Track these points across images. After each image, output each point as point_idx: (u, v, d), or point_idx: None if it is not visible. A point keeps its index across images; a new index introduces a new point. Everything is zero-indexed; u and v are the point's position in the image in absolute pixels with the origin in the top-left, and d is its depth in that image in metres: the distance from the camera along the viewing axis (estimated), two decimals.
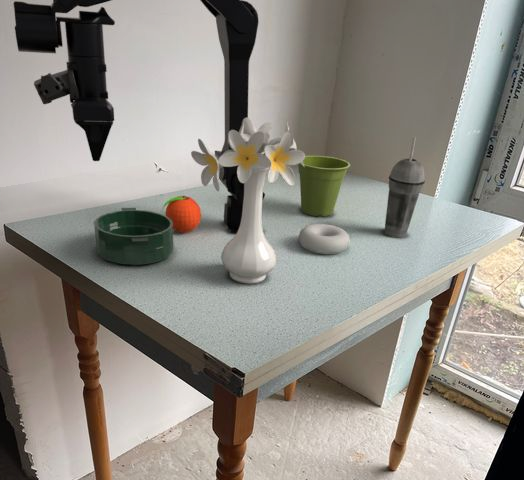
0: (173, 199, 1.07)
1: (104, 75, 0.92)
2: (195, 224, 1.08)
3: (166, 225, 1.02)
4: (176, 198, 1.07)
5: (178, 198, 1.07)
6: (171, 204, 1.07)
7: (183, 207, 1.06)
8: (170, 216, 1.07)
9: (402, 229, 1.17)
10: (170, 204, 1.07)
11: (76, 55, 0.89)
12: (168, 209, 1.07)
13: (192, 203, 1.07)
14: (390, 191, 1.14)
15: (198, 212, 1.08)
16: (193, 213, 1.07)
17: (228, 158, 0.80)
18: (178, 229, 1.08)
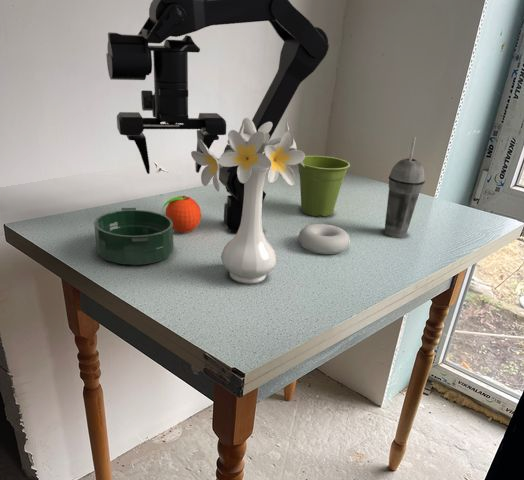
0: (173, 199, 1.07)
1: (167, 100, 0.95)
2: (195, 224, 1.08)
3: (166, 225, 1.02)
4: (176, 198, 1.07)
5: (178, 198, 1.07)
6: (171, 204, 1.07)
7: (183, 207, 1.06)
8: (170, 216, 1.07)
9: (402, 229, 1.17)
10: (170, 204, 1.07)
11: None
12: (168, 209, 1.07)
13: (192, 203, 1.07)
14: (390, 191, 1.14)
15: (198, 212, 1.08)
16: (193, 213, 1.07)
17: (228, 158, 0.80)
18: (178, 229, 1.08)
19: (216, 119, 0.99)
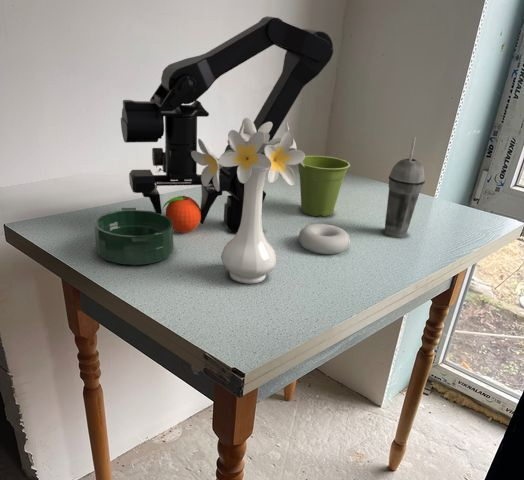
0: (173, 199, 1.07)
1: (177, 160, 1.01)
2: (195, 224, 1.08)
3: (166, 225, 1.02)
4: (176, 198, 1.07)
5: (178, 198, 1.07)
6: (171, 204, 1.07)
7: (183, 207, 1.06)
8: (170, 216, 1.07)
9: (402, 229, 1.17)
10: (170, 204, 1.07)
11: None
12: (168, 209, 1.07)
13: (192, 203, 1.07)
14: (390, 191, 1.14)
15: (198, 212, 1.08)
16: (193, 213, 1.07)
17: (228, 158, 0.80)
18: (178, 229, 1.08)
19: (223, 176, 1.05)
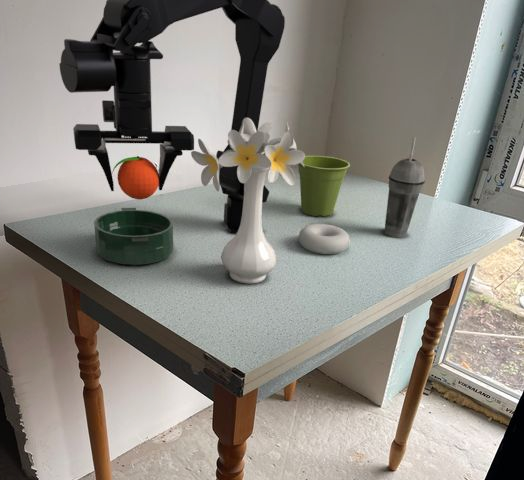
0: (125, 159, 0.92)
1: (127, 112, 0.86)
2: (151, 189, 0.94)
3: (166, 225, 1.02)
4: (129, 158, 0.93)
5: (131, 158, 0.93)
6: (123, 165, 0.92)
7: (137, 168, 0.92)
8: (122, 179, 0.92)
9: (402, 229, 1.17)
10: (122, 165, 0.93)
11: None
12: (120, 171, 0.93)
13: (147, 164, 0.93)
14: (390, 191, 1.14)
15: (155, 175, 0.94)
16: (148, 175, 0.92)
17: (228, 158, 0.80)
18: (132, 195, 0.94)
19: (183, 133, 0.91)
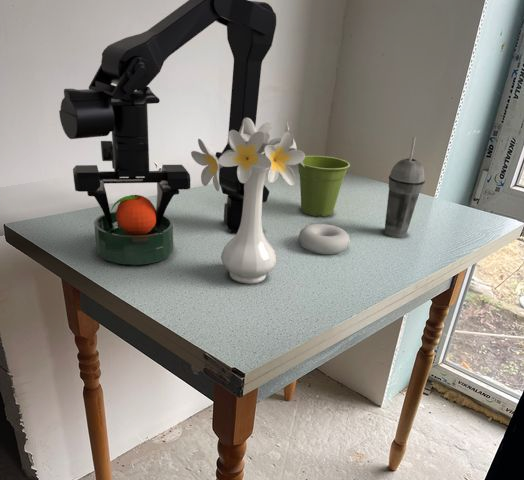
0: (123, 198, 0.95)
1: (125, 155, 0.89)
2: (149, 226, 0.97)
3: (166, 225, 1.02)
4: (127, 197, 0.95)
5: (129, 197, 0.95)
6: (121, 204, 0.95)
7: (135, 207, 0.94)
8: (121, 217, 0.95)
9: (402, 229, 1.17)
10: (120, 204, 0.95)
11: None
12: (118, 210, 0.95)
13: (145, 202, 0.95)
14: (390, 191, 1.14)
15: (153, 213, 0.96)
16: (146, 214, 0.95)
17: (228, 158, 0.80)
18: (130, 232, 0.96)
19: (179, 173, 0.93)
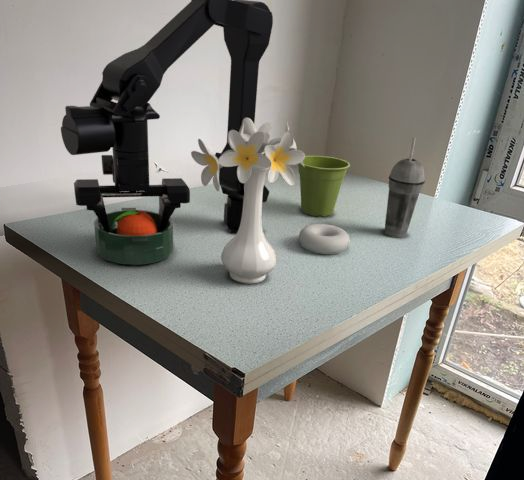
0: (124, 214, 0.96)
1: (125, 169, 0.90)
2: None
3: (166, 225, 1.02)
4: (128, 213, 0.97)
5: (130, 213, 0.97)
6: (122, 219, 0.96)
7: (135, 222, 0.96)
8: (121, 232, 0.96)
9: (402, 229, 1.17)
10: (121, 219, 0.97)
11: None
12: (119, 225, 0.97)
13: (145, 218, 0.97)
14: (390, 191, 1.14)
15: (153, 228, 0.98)
16: (146, 229, 0.96)
17: (228, 158, 0.80)
18: None
19: (179, 187, 0.95)
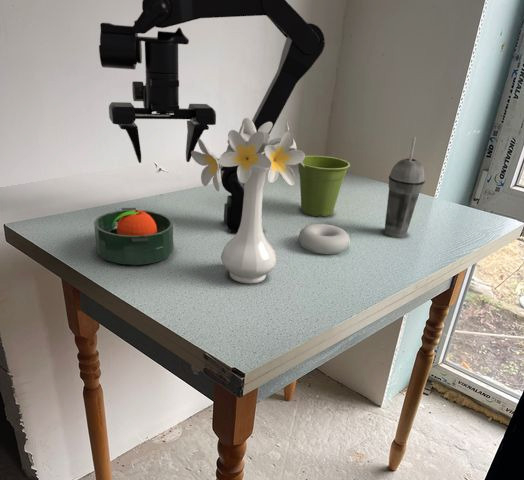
0: (124, 214, 0.96)
1: (158, 90, 0.98)
2: None
3: (166, 225, 1.02)
4: (128, 213, 0.97)
5: (130, 213, 0.97)
6: (122, 219, 0.96)
7: (135, 222, 0.96)
8: (121, 232, 0.96)
9: (402, 229, 1.17)
10: (121, 219, 0.97)
11: None
12: (119, 225, 0.97)
13: (145, 218, 0.97)
14: (390, 191, 1.14)
15: (153, 228, 0.98)
16: (146, 229, 0.96)
17: (228, 158, 0.80)
18: None
19: (206, 109, 1.02)
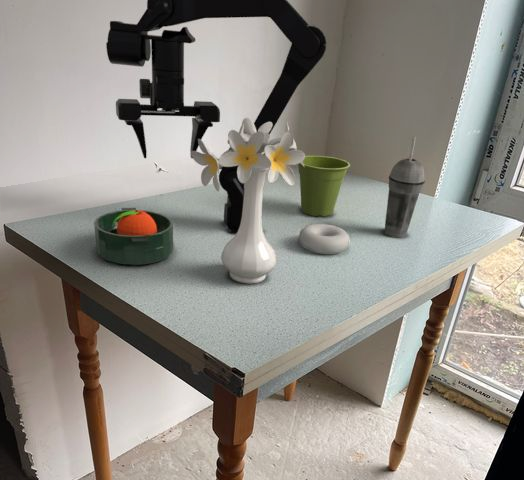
0: (124, 214, 0.96)
1: (164, 87, 1.00)
2: None
3: (166, 225, 1.02)
4: (128, 213, 0.97)
5: (130, 213, 0.97)
6: (122, 219, 0.96)
7: (135, 222, 0.96)
8: (121, 232, 0.96)
9: (402, 229, 1.17)
10: (121, 219, 0.97)
11: None
12: (119, 225, 0.97)
13: (145, 218, 0.97)
14: (390, 191, 1.14)
15: (153, 228, 0.98)
16: (146, 229, 0.96)
17: (228, 158, 0.80)
18: None
19: (210, 107, 1.05)
